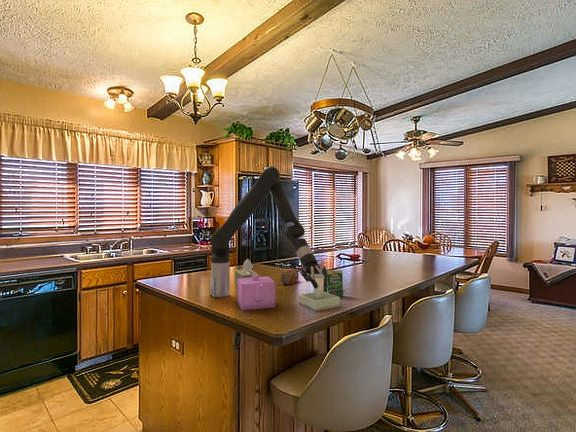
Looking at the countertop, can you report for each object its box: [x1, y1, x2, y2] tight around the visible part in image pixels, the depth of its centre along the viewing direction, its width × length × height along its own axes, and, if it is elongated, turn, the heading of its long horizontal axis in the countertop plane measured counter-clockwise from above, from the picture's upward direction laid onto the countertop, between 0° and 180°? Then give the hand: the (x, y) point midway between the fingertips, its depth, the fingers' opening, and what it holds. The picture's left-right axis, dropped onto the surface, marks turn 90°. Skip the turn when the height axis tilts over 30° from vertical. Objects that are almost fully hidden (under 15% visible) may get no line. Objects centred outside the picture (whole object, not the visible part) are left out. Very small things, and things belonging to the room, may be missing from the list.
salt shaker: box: [313, 274, 324, 297], centre depth 160 cm, size 4×4×10 cm
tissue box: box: [234, 258, 260, 287], centre depth 202 cm, size 19×10×16 cm, turn 22°
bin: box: [297, 291, 341, 312], centre depth 160 cm, size 14×14×4 cm
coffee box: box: [326, 269, 344, 298], centre depth 177 cm, size 8×3×13 cm, turn 90°
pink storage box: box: [237, 274, 276, 311], centre depth 160 cm, size 15×25×14 cm, turn 16°
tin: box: [280, 268, 299, 285], centre depth 209 cm, size 15×3×8 cm, turn 143°
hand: (321, 286), depth 158 cm, fingers closed on salt shaker, 4 cm apart
